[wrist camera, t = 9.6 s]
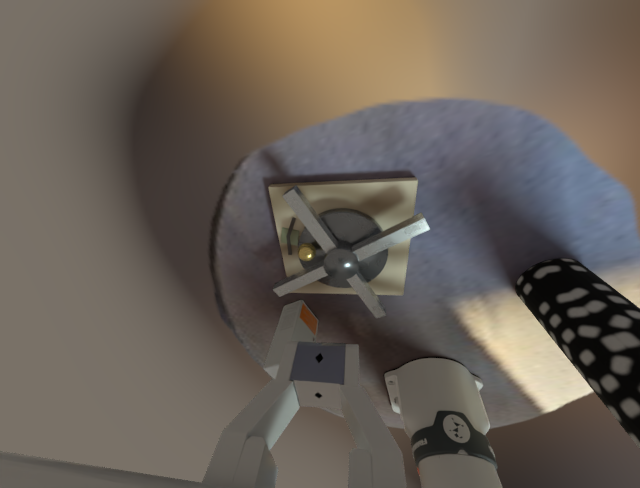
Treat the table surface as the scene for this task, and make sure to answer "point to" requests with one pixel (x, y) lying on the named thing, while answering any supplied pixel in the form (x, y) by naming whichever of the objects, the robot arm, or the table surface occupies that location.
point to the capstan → (344, 248)
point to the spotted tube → (590, 332)
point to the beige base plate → (363, 195)
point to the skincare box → (291, 332)
